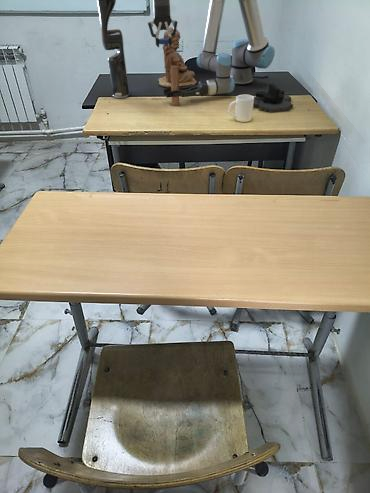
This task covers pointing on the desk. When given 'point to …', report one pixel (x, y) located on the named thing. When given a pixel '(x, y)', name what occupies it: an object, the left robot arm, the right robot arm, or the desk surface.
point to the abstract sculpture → (272, 100)
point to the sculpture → (175, 63)
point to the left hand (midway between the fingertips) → (163, 46)
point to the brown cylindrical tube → (174, 83)
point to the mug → (242, 108)
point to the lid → (164, 41)
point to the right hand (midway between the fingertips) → (165, 93)
